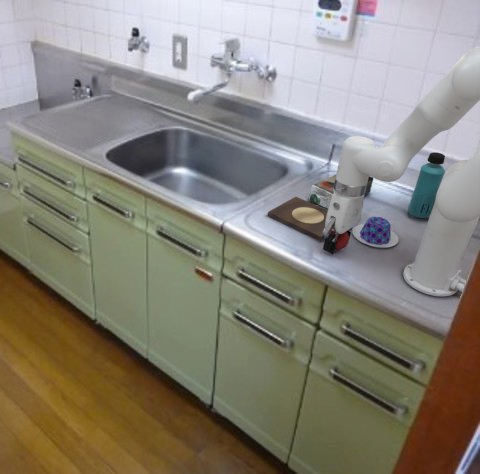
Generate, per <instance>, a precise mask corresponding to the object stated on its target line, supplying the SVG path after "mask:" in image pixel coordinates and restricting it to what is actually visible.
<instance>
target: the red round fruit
mask: <svg viewBox="0 0 480 474" xmlns="http://www.w3.org/2000/svg"><path fill="white" fill-rule="evenodd" d="M330 233H331V234H332V235H333V236H334V234H335V232H334V231H332V230H331V232H330ZM336 241H337V245H336V249H335V252H339V251H342V250H344V249H345V248H346V247H347V246H348V244H349V243H350V238H349V236H348V233H347V231H346V232H344V233H342V234H338V237H337V239H336Z"/></svg>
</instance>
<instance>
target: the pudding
mask: <svg viewBox="0 0 480 474" xmlns="http://www.w3.org/2000/svg"><path fill="white" fill-rule="evenodd" d="M391 226H392V225H391V223H390V221H388V220H387V219H386V218H383V217H381V216H371V217H369V218H368V219H367V220H365V223H362V224H361V223H360V224H357V225H355V226H354V227H353V229H352V235H353V237H354V238H355V239H356V240H358V241H359V242H361V243H363V244H365V245H367V246H369V247H370V246H371V247H374V248H385V249H386V248H390V247H393V246H396V245H397V244H398V243H399V236H398V235H397V234H396V233H395V232H394V231H393V230H391Z"/></svg>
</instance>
